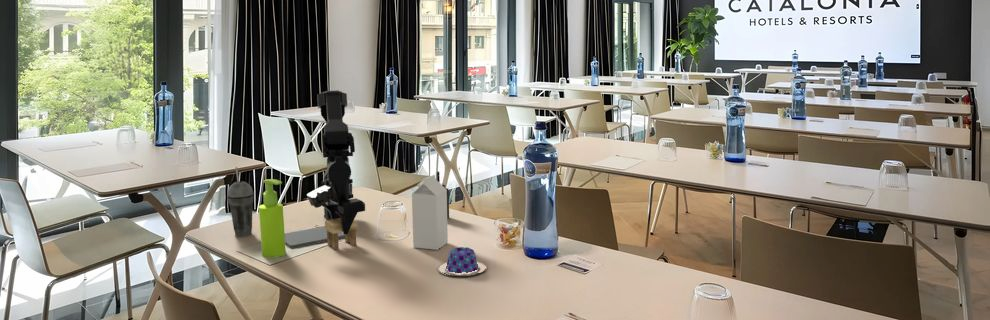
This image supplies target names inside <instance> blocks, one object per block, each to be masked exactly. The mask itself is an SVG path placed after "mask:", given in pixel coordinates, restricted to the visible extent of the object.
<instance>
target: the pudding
mask: <svg viewBox="0 0 990 320" xmlns="http://www.w3.org/2000/svg"><path fill="white" fill-rule="evenodd" d="M477 261H478V260H477V256H476V252H475V251H474V249H472V248H470V247H467V246H466V247H464V246H463V247H462V246H460V247H454V248H452V249H451V250H450V251H449V254H448V257H447V261H445V262H443V263H441V264H440V265H438V267H437V270H438V272H439V273H441V274H442V275H446V274H444V273H442V272H441V271H440V270H439V268H440V266H441V265H443V264H444V263H447V266H446V269H448V271H449V272H455V273H462V272H466V273H468V272H472V271H475V270H477V269H478V264H477ZM483 264H484V265H485V266H486V270H487V269H488V268H487V265H486V264H485V263H483ZM446 269H445V270H446ZM478 270H479V269H478ZM446 276H447V275H446Z"/></svg>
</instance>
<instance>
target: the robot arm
mask: <svg viewBox="0 0 990 320" xmlns="http://www.w3.org/2000/svg"><path fill="white" fill-rule="evenodd" d="M316 99H317V109H320V115H321V117H322V118H323V120H324V121H325V125H324V126H323V130H324V133H322V134H321V143H322V157H323V159H324V158H326V170H325V172H324V174H323V180H322V181H321V186H319V187H318V188H316V189H313V190H312V191H310V192H308V193H307V194H306V197H307V200H308V202H309V204H310V206H312V207H314V208H316V209H317V208H320V207H322V208H323V213H324V214H323V218H326V220H332V219H337V218H341V224H342V230H343V232H342V233H343V234H348V232H349V230H350V227H351V225H352V223H353V221H354V219H355V218H356V216H357V214H359V213H361V212H366V203H365V202H364V201H362V199H359V198H355V197H354V194H353V181H354V180H353V178H351V175H352V169H351V165H350V157H353V156H354V153H355V151H356V147H355V139H354V136H353V134H352V132H349V125H348V124H346V123H345V122H344V121H343V119H344V116H345V114H346V108H347V107H348V93H347V92H343V91H341V90H326V91H322V92H321V93H318V94H317V98H316ZM355 220H356V219H355Z"/></svg>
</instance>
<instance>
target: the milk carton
mask: <svg viewBox="0 0 990 320" xmlns="http://www.w3.org/2000/svg"><path fill="white" fill-rule="evenodd" d="M442 185H443V184H441V182H440V183H439V182H438V181H437V178H436V175H435V174H432V175H430V176H427V177H426V178H424V179H423V180H421V181H420V182H418V183H417V187H418V188H417V189H415V190H414V191H413V192H412V193H411V206H412V207H411V210H412V211H411V213H412V239H413V240H412V243H413V245H412V247H413V248H414V249H415V248H416V249H426V250H433V251H439V250H440V249H441V248H443V247H444V246H445V245H446V244H448V242H449V240H448V236H449V235H448V218H447V190H446V189H445V188H446V187H445V188H444V187H443V186H442ZM439 248H440V249H439Z"/></svg>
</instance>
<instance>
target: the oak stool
mask: <svg viewBox="0 0 990 320" xmlns="http://www.w3.org/2000/svg"><path fill="white" fill-rule="evenodd" d="M324 226H325V230H327V241H326V242H327V246H328V247H331V248H332V249H333V250H339V239H338V233H340V232H342V233H343V230H342V224H341V218H337V219H332V220H329V219H326V220H324ZM357 230H358V220H357V219H354V221H353V223H352V225H351V227H350V230H349V232H348V234H345V238H344V239H345V241H344V242H345V243H346V244H349V243H350V246H351V247H353V246H357Z"/></svg>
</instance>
